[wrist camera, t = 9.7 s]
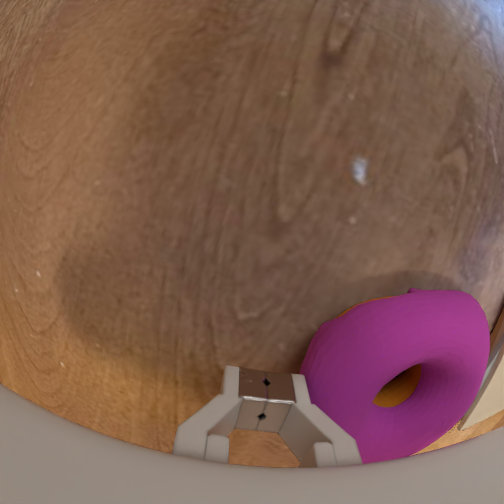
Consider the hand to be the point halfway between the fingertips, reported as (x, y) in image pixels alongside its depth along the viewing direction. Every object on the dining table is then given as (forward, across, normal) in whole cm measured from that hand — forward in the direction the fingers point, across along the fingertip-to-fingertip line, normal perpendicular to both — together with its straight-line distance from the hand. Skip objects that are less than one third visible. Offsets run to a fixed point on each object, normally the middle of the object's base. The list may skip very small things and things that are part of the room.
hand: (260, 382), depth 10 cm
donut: (+3, -7, 0) cm, 7 cm away
